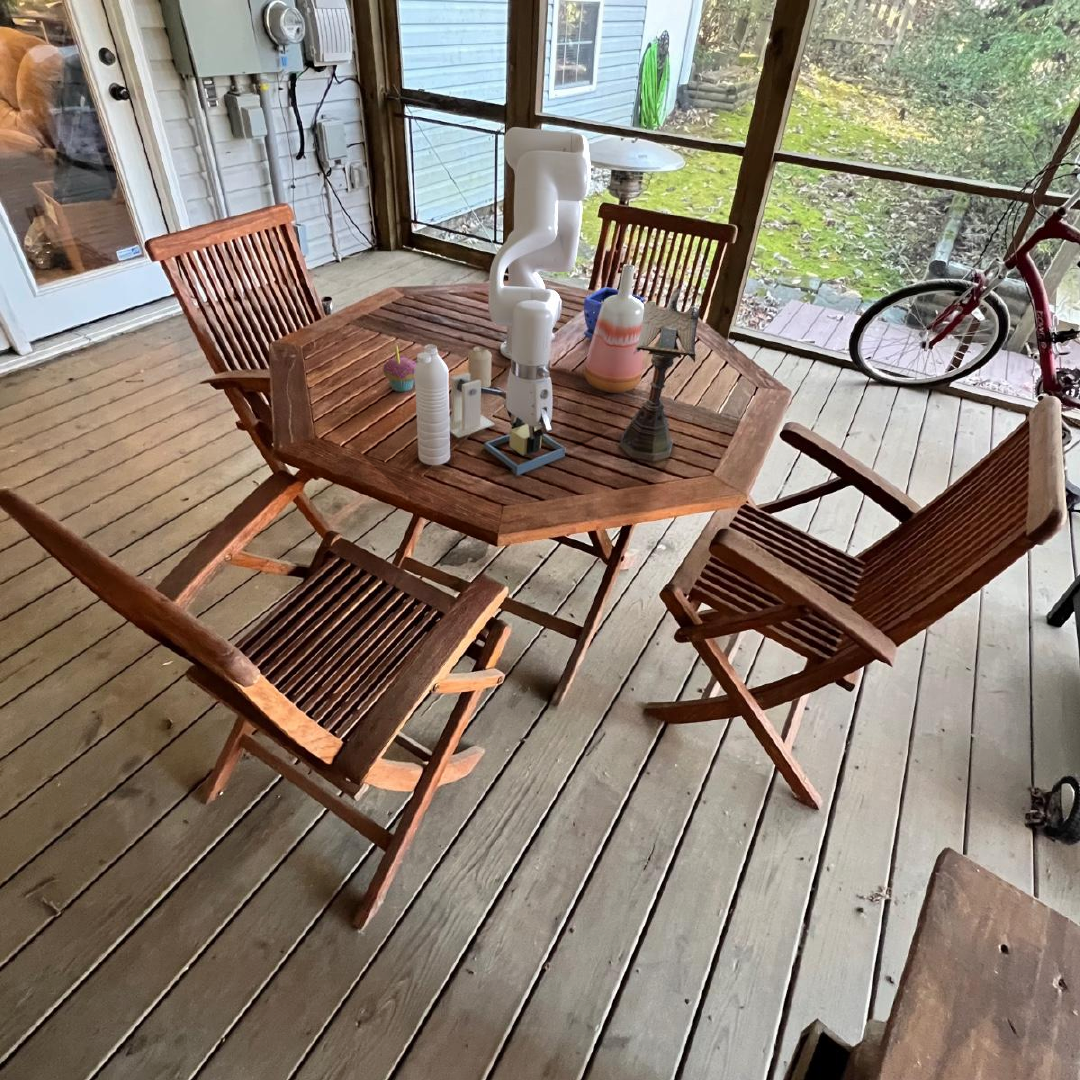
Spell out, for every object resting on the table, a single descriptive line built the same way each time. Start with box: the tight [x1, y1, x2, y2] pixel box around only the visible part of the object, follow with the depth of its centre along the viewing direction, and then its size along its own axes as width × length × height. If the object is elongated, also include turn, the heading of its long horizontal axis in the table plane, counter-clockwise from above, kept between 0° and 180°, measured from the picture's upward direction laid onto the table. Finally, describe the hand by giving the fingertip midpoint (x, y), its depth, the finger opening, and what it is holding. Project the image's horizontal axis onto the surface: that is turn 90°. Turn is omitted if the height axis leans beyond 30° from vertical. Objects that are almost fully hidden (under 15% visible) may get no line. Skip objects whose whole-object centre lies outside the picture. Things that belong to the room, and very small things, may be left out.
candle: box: [468, 346, 493, 388], centre depth 166 cm, size 6×6×10 cm
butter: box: [509, 423, 542, 456], centre depth 145 cm, size 5×4×4 cm
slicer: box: [449, 371, 496, 439], centre depth 150 cm, size 10×8×12 cm
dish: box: [483, 433, 567, 476], centre depth 146 cm, size 13×11×2 cm
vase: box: [583, 264, 645, 394], centre depth 166 cm, size 14×14×30 cm
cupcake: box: [382, 343, 418, 393], centre depth 163 cm, size 9×8×12 cm
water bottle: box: [414, 343, 451, 466], centre depth 134 cm, size 9×6×25 cm
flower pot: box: [583, 286, 645, 340], centre depth 194 cm, size 13×13×12 cm
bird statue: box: [619, 288, 700, 462], centre depth 140 cm, size 17×13×35 cm
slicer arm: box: [457, 379, 506, 401], centre depth 151 cm, size 13×5×2 cm, turn 130°
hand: (525, 445), depth 146 cm, fingers closed on butter, 4 cm apart
